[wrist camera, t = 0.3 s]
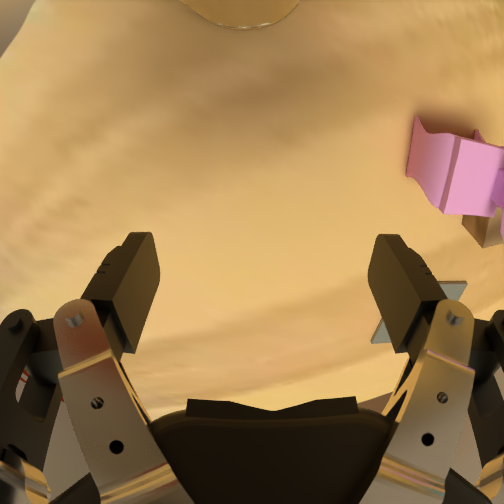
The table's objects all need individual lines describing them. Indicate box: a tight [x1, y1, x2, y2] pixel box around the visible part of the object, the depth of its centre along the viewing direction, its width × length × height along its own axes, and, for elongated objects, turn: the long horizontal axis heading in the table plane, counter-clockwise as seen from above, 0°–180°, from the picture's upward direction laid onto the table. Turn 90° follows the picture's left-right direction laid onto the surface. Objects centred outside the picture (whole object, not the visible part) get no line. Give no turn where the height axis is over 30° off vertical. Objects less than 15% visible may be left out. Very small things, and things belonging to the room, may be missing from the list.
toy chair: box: [406, 116, 504, 240], centre depth 18 cm, size 8×9×15 cm
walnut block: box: [462, 206, 504, 248], centre depth 26 cm, size 5×5×5 cm
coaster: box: [371, 281, 467, 344], centre depth 38 cm, size 12×12×1 cm
